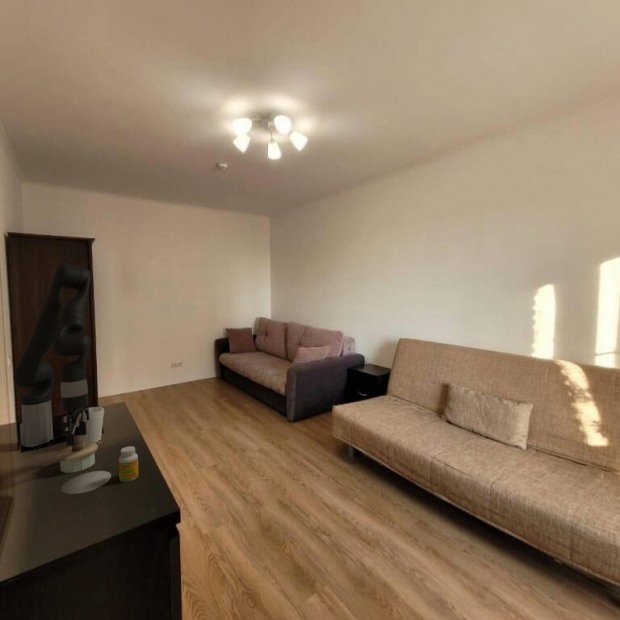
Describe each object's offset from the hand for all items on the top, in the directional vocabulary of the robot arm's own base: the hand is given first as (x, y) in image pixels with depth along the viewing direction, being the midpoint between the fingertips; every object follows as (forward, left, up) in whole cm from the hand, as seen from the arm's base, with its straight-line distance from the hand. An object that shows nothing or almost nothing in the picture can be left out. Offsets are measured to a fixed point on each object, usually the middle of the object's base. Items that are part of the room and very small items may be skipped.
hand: (77, 439), depth 116 cm
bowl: (0, 0, -9) cm, 9 cm away
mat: (+10, -11, -9) cm, 18 cm away
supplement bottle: (+22, -9, -10) cm, 26 cm away
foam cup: (-8, +20, -10) cm, 24 cm away
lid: (0, 0, -4) cm, 4 cm away
